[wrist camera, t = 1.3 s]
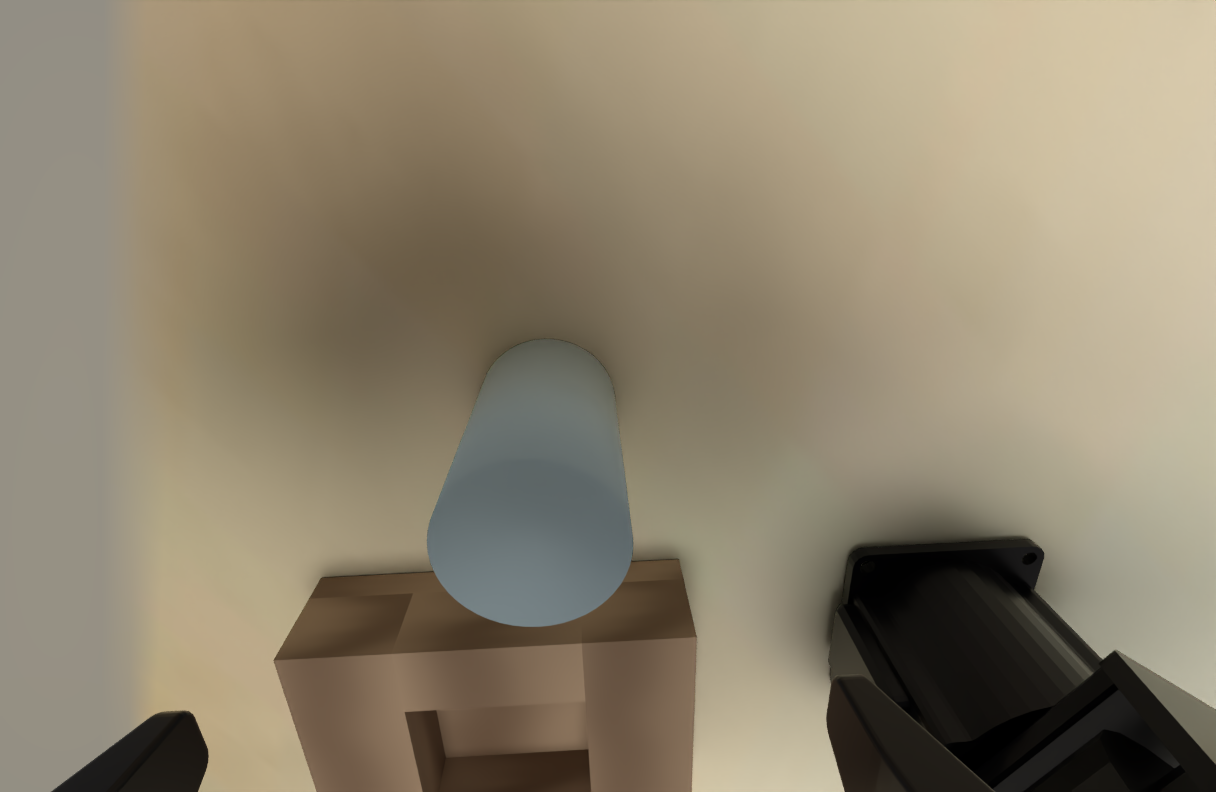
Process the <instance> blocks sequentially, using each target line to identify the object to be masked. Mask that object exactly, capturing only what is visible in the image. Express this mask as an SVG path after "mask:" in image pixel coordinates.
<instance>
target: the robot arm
mask: <svg viewBox="0 0 1216 792" xmlns="http://www.w3.org/2000/svg"><path fill="white" fill-rule="evenodd" d="M1024 555H1025V556H1024ZM1043 559H1044V552H1043V550H1042V549H1041V548H1040V547H1039V546H1038V545H1037V544H1036V543H1035V542H1033V541H1031V540H1028V539H1019V540H999V541H980V542H961V543H941V544H922V545H903V546H884V547H865V548H860V549H857V550H856V551H854V552H853V553H852V554H851V555H850V557H849V559H848V564H847V571H846V578H845V584H844V591H843V598H842V604H840V605H839V607H838V608H837V610H836V612H835V618H834V625H833V632H832V639H831V646H830V652H829V659H828V662H829V665H830V667H831V669H832V670H831V677H830V682H831V689H830V695H829V702H828V709H827V717H826V721H827V729H828V734H829V738H830V741H831V745H832V748H833V752H834V755H835V759H836V762H837V766H838V769H839V773H840V776H841V780H842V784H843V787H844V791H845V792H1216V710H1215V709H1214V708H1212V707H1210V706H1209V705H1207V704H1205V703H1204V702H1202V701H1200V700H1199V699H1197V698H1195V697H1194V696H1192V695H1190V694H1189V693H1187V692H1185V691H1184V690H1182V689H1180V688H1179V687H1177V686H1175V685H1174V684H1172V683H1171V682H1169V681H1167V680H1166V679H1164V678H1162V677H1161V676H1159V675H1157V674H1156V673H1154V672H1152V671H1151V670H1149V669H1147V668H1146V667H1144V666H1142V665H1141V664H1139V663H1137V662H1136V661H1134V660H1132V659H1131V658H1129V657H1127V656H1126V655H1124V654H1122V653H1121V652H1119V651H1117V650H1114V651H1113V652H1112V653H1111V654H1109V655H1108V656H1107V657H1106V658H1104V659H1103V660H1102V659H1101V658H1100V657H1099V656H1098V655H1097V654H1096V653H1095V652H1094V651H1093V650H1092V649H1091V648H1090V647H1089V646H1088V644H1087V643H1086V642H1085V641H1084V640H1083V639H1082V638H1081V637H1080V636H1079V635H1078V634H1077V633H1076V632H1075V631H1074V630H1073V629H1072V628H1071V627H1070V626H1069V625H1068V624H1067V623H1066V622H1065V621H1064V620H1063V619H1062V618H1061V617H1060V616H1059V615H1058V614H1057V613H1056V612H1055V611H1054V610H1053V609H1052V608H1051V607H1050V606H1049V605H1048V604H1047V603H1046V602H1045V601H1044V600H1043V599H1042V598H1041V597H1040V596H1039V595H1038V594H1037V593H1036V592H1035V591H1034V589H1035V585H1036V582H1037V579H1038V576H1039V572H1040V569H1041V566H1042V562H1043ZM866 561H869V562H868V563H867V564H866V565H863V566H861V564H863V563H864V562H866ZM207 764H208V748H207V746H206V743H205V741H204V738H203V736H202V734H201V731H200V729H199V726H198V724H197V722H196V719H195V717H194V715H193V714H192V713H190V712H189V711H167V712H160V713H157V714H155V715H153V716H152V717H150V718H149V719H147V720H146V721H145V722H143V723H142V724H141V725H139V726H138V727H137V728H135V729H134V730H133V731H131V732H130V733H129V734H127V735H126V736H125V737H123V738H122V739H121V740H119V741H118V742H117V743H115V744H114V745H113V746H111V747H110V748H109V749H107V750H106V751H105V752H103V753H102V754H101V755H99V756H98V757H97V758H95V759H94V760H93V761H91V762H90V763H89V764H87V765H86V766H85V767H83V768H82V769H81V770H79V771H78V772H77V773H75V774H74V775H73V776H71V777H70V778H69V779H67V780H66V781H65V782H63V783H62V784H61V785H60V786H58V787H57V788H55V789H54V790H53V791H52V792H198V790H199V787H200V785H201V782H202V779H203V777H204V774H205V772H206V768H207Z"/></svg>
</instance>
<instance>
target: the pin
mask: <svg viewBox="0 0 1216 792" xmlns="http://www.w3.org/2000/svg"><path fill="white" fill-rule="evenodd" d="M427 548H428V555H429V559H430V563H431V566H432V568H433V570H434V573H435V575H436V576H437V578H438V580H439V581H440V583H441V584H442V586H443V587H444V588H445V589H446V590H447V592H448V593H449V594H450V595H451V596H452V597H453V598H454V599H455V600H457V601H458V602H459V603H460V604H462V605H463V606H464V607H466V608H467V609H469V610H471V611H472V612H474V613H476V614H478V615H480V616H482V617H485V618H487V619H489V620H493V621H496V622H499V623H503V624H508V625H513V626H522V627H542V626H552V625H556V624H561V623H565V622H568V621H571V620H574V619H577V618H579V617H581V616H584V615H586V614H588V613H589V612H591V611H593V610H594V609H596V608H597V607H599V606H600V605H601V604H603V603H604V602H605V601H606V600H607V599H608V598H609V597H610V596H611V595H613V594H614V592H615V591H616V590H617V588H618V587H619V586H620V585H621V583H622V581H623V579H624V578H625V576H626V574H627V571H628V569H629V566H630V563H631V559H632V554H633V535H632V527H631V519H630V511H629V503H628V495H627V487H626V480H625V472H624V464H623V456H622V448H621V440H620V432H619V425H618V417H617V409H616V401H615V393H614V388H613V384H612V382H611V379H610V377H609V375H608V373H607V371H606V370H605V368H604V367H603V366H602V364H601V363H600V362H599V361H598V360H597V359H596V358H595V357H594V356H593V355H592V354H590V353H589V352H588V351H586V350H584V349H583V348H581V347H579V346H577V345H575V344H572V343H569V342H566V341H562V340H555V339H538V340H532V341H528V342H524V343H522V344H519V345H517V346H515V347H513V348H511V349H509V350H508V351H506V352H505V353H504V354H502V355H501V356H500V357H499V358H498V359H497V360H496V361H495V362H494V364H493V365H492V366H491V368H490V369H489V371H488V373H487V374H486V377H485V379H484V382H483V385H482V387H481V390H480V392H479V395H478V397H477V400H476V403H475V405H474V408H473V410H472V413H471V416H470V418H469V421H468V423H467V426H466V429H465V431H464V434H463V436H462V439H461V441H460V444H459V447H458V449H457V452H456V454H455V457H454V460H453V462H452V465H451V467H450V470H449V473H448V475H447V478H446V480H445V483H444V485H443V488H442V491H441V493H440V496H439V498H438V501H437V504H436V506H435V509H434V511H433V514H432V517H431V519H430V523H429V527H428V533H427Z"/></svg>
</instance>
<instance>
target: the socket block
mask: <svg viewBox="0 0 1216 792" xmlns="http://www.w3.org/2000/svg"><path fill="white" fill-rule="evenodd" d="M696 643H697V636H696V632H695V628H694V623H693V619H692V614H691V610H690V606H689V601H688V597H687V593H686V588H685V584H684V579H683V575H682V571H681V566H680V562H679V559H676V560H656V561H637V562H631V563H630V566H629V569H628V571H627V574H626V576H625V578H624V579H623V581H622V583H621V585H620V586H619V587H618V588H617V590H616V591H615V592H614V594H613V595H611V596H610V597H609V598H608V599H607V600H606V601H605V602H604V603H603V604H601V605H600V606H599V607H597V608H596V609H594V610H593V611H591V612H589V613H588V614H586V615H584V616H581V617H579V618H577V619H574V620H571V621H568V622H565V623H561V624H556V625H552V626H542V627H522V626H513V625H508V624H503V623H499V622H496V621H493V620H489V619H487V618H485V617H482V616H480V615H478V614H476V613H474V612H472V611H471V610H469V609H467V608H466V607H464V606H463V605H462V604H460V603H459V602H458V601H457V600H455V599H454V598H453V597H452V596H451V595H450V594H449V593H448V592H447V590H446V589H445V588H444V587H443V586H442V584H441V583H440V581H439V580H438V578H437V576H436V575H435V573H434V572H426V573H406V574H387V575H368V576H349V577H330V578H321V579H320V581H319V583H318V584H317V586H316V588H315V590H314V591H313V593H312V595H311V596H310V598H309V600H308V602H307V603H306V605H305V607H304V609H303V610H302V612H301V614H300V616H299V617H298V619H297V621H296V622H295V624H294V626H293V628H292V629H291V631H290V633H289V635H288V636H287V638H286V640H285V641H284V643H283V645H282V647H281V648H280V650H279V652H278V654H277V655H276V657H275V659H274V660H273V661H274V664H275V667H276V670H277V673H278V676H279V679H280V682H281V685H282V688H283V691H284V694H285V697H286V700H287V703H288V706H289V709H290V712H291V715H292V718H293V721H294V724H295V727H296V730H297V733H298V736H299V739H300V742H301V745H302V749H303V752H304V755H305V758H306V761H307V764H308V767H309V770H310V773H311V776H312V779H313V782H314V785H315V788H316V791H317V792H692V764H693V733H694V703H695V673H696Z"/></svg>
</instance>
